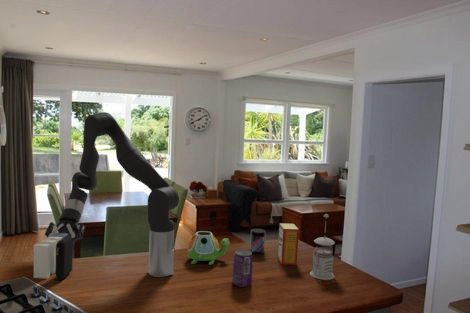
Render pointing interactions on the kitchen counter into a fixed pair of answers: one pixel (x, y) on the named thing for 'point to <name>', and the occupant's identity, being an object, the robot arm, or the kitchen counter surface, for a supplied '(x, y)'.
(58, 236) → the blue-grey rectangular block
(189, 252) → the turtle holder
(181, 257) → the kitchen counter surface
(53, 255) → the ivory domino
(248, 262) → the beverage can
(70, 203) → the robot arm
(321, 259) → the french press
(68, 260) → the carrying case or bag
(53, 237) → the ivory domino
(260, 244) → the supplement container
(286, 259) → the baking soda box
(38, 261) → the ivory domino
